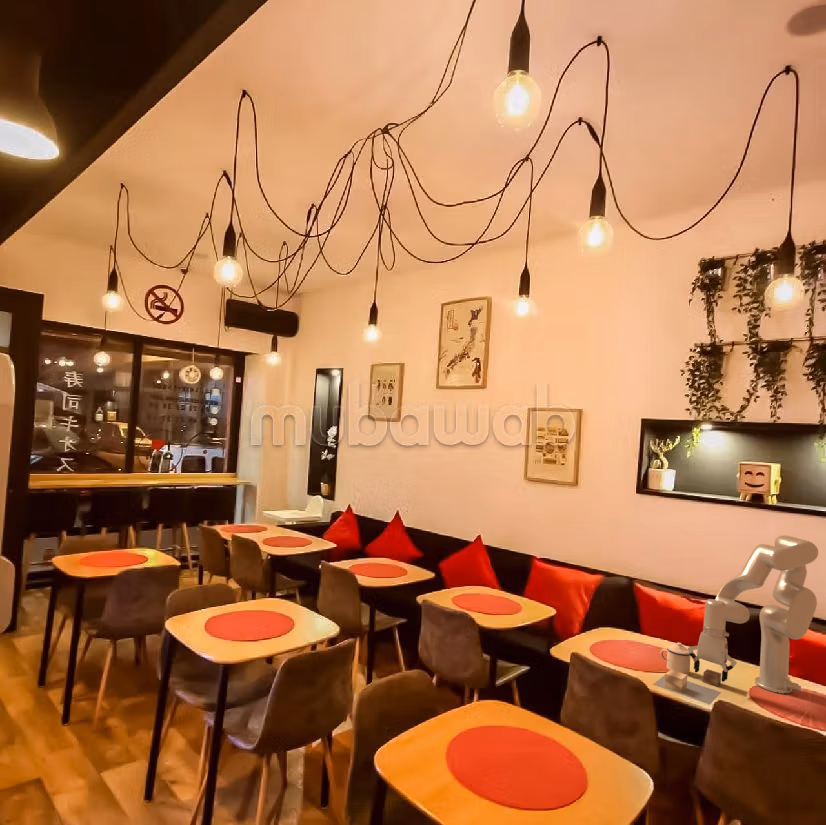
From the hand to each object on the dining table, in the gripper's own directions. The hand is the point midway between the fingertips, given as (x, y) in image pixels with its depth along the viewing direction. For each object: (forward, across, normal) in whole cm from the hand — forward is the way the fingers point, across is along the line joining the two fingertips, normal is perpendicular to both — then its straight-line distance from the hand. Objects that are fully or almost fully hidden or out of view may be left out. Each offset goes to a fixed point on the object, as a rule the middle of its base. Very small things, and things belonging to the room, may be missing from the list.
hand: (710, 676), depth 221 cm
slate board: (+4, +4, +13) cm, 14 cm away
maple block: (+3, +7, +16) cm, 18 cm away
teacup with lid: (+4, +14, -4) cm, 15 cm away
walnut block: (+4, -1, -1) cm, 4 cm away
